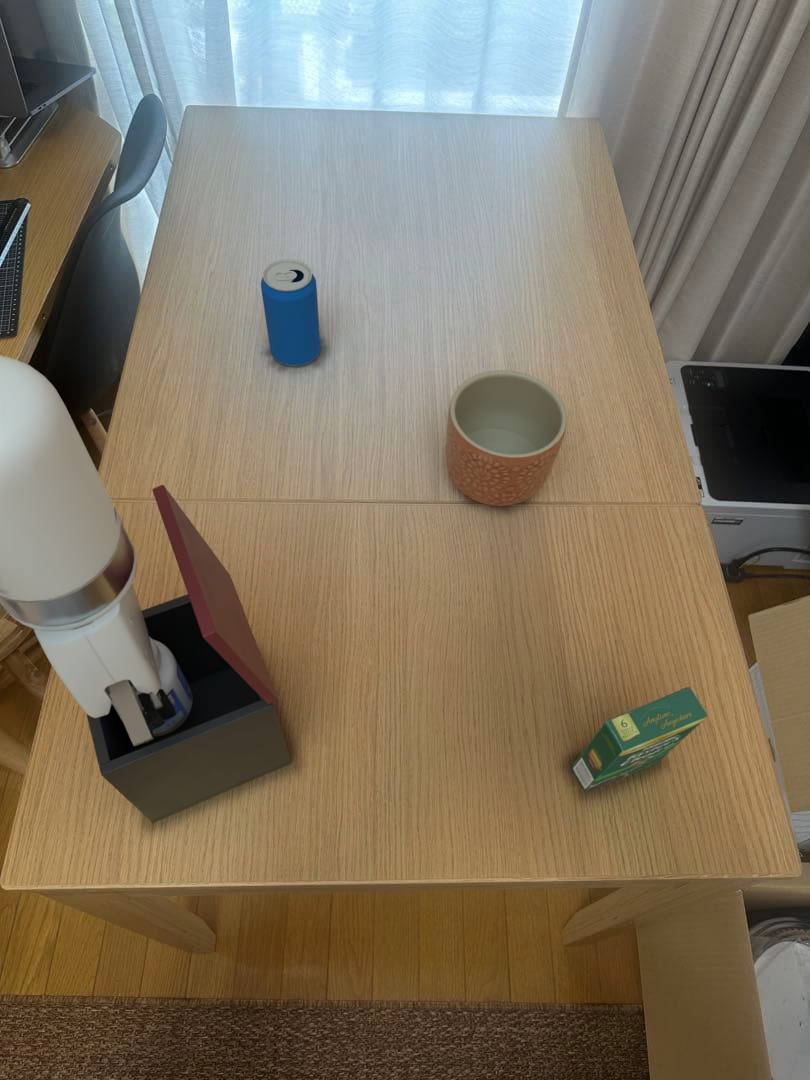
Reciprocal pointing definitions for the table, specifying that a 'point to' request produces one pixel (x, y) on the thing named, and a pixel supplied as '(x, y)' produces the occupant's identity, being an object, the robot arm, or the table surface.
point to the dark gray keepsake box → (192, 729)
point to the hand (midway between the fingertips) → (143, 683)
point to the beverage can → (291, 311)
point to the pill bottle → (171, 687)
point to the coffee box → (638, 739)
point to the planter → (503, 436)
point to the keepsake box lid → (214, 597)
